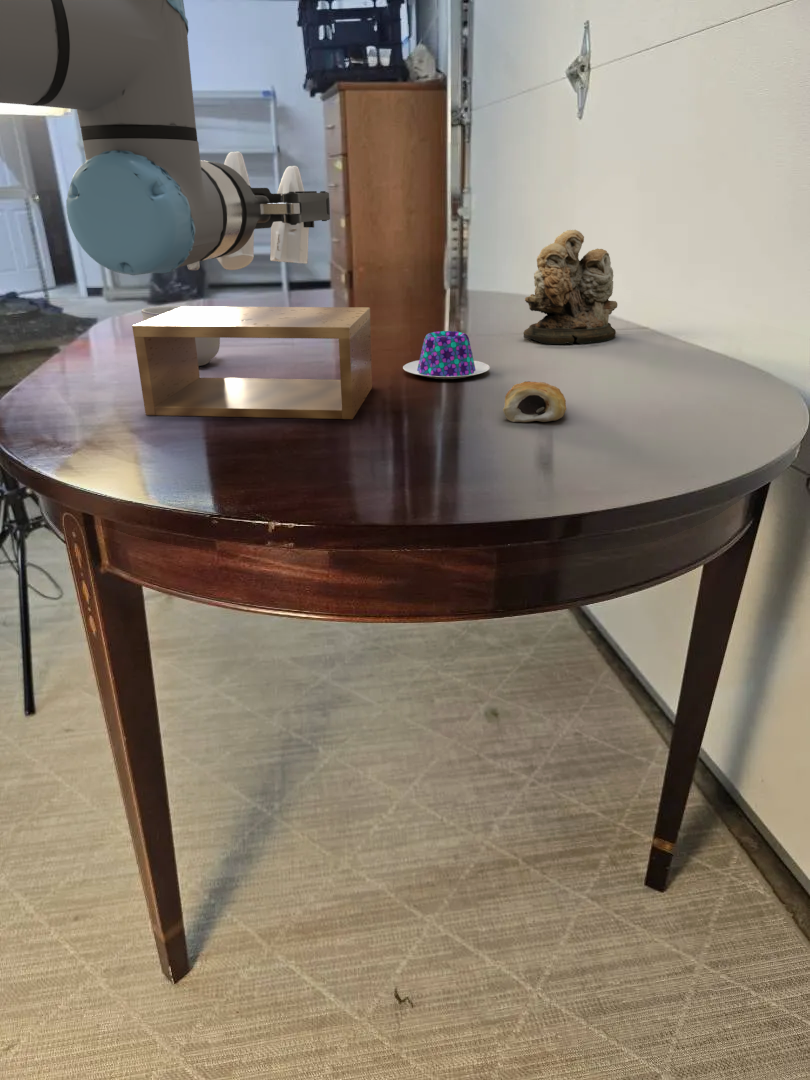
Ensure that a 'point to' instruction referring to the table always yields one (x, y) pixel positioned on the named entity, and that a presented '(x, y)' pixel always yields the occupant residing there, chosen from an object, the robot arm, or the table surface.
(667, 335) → the table surface
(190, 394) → the shelf
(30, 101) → the robot arm
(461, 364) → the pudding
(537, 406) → the pastry
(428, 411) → the table surface
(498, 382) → the table surface
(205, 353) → the teacup
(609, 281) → the owl figurine
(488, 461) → the table surface
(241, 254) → the shaker set
